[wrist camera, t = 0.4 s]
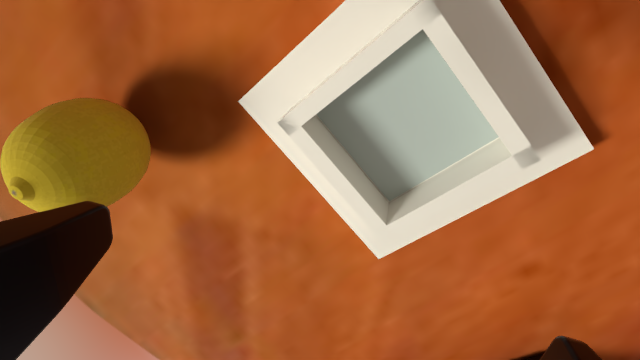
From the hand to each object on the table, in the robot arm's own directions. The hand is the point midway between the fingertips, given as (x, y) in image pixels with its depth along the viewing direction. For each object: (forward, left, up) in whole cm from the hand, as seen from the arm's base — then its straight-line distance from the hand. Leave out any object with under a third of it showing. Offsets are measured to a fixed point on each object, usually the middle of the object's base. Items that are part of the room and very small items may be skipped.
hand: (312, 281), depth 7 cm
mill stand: (-2, -1, -13) cm, 13 cm away
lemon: (+7, +12, -14) cm, 20 cm away
